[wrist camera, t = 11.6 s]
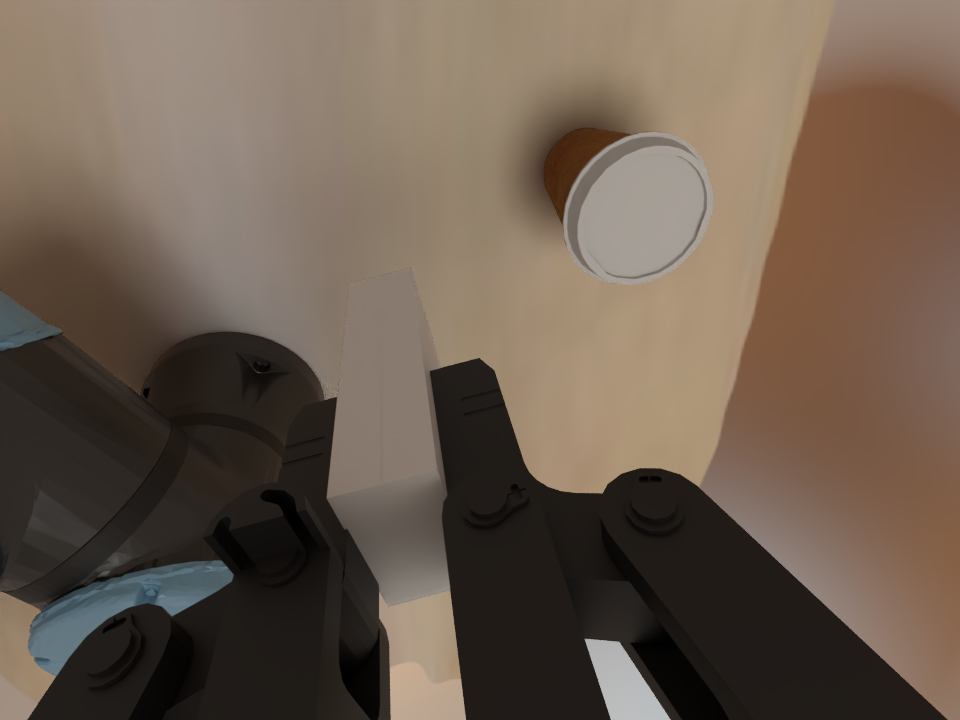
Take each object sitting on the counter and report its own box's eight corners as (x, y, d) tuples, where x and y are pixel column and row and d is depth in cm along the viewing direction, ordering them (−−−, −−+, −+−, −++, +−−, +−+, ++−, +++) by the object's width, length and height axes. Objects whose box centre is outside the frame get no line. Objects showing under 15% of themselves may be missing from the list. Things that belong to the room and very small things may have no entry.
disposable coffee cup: (513, 123, 38) (559, 162, 29) (636, 89, 39) (725, 116, 29) (533, 241, 44) (578, 308, 34) (641, 211, 44) (717, 269, 34)
